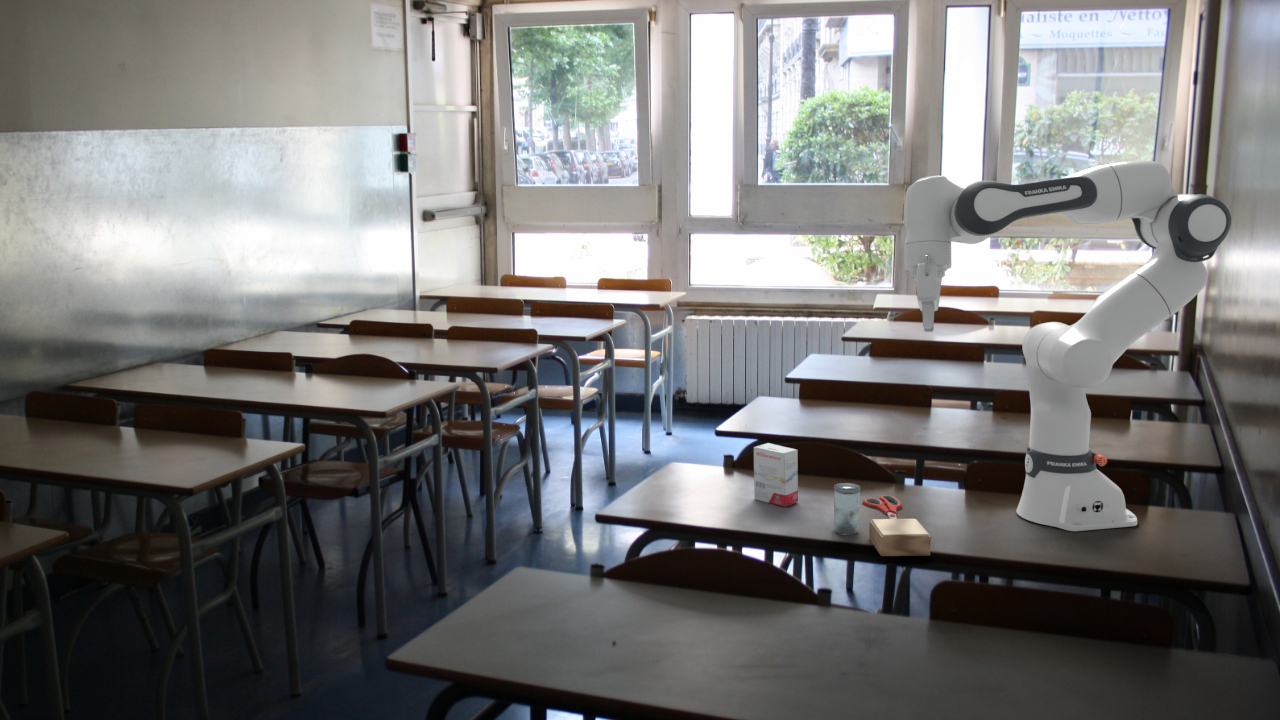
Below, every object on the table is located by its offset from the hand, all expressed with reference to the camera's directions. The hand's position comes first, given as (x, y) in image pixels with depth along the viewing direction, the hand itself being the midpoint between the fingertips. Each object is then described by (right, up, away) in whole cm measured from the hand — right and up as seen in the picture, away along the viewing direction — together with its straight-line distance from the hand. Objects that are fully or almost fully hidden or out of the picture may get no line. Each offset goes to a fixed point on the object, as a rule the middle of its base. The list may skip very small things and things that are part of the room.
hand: (928, 330), depth 195 cm
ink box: (-27, -36, +20) cm, 49 cm away
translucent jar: (-16, -39, +1) cm, 42 cm away
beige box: (-8, -41, -7) cm, 42 cm away
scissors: (-4, -38, +10) cm, 40 cm away
